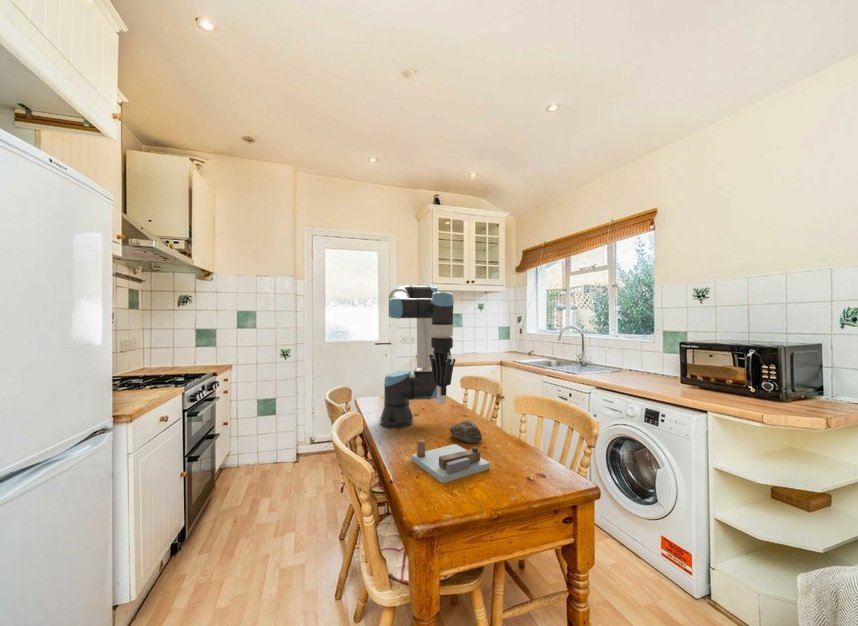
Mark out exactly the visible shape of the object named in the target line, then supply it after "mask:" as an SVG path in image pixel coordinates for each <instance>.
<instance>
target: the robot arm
mask: <svg viewBox="0 0 858 626" xmlns="http://www.w3.org/2000/svg"><path fill="white" fill-rule="evenodd" d="M454 302H455V301H454V295H453V293H452V292H450V291H449V292H446V291H445V292H443V291H442V292H440V291H439V288H438V287H436V286H433V285H402V286H399V287H396V288H394V289H392V290H391V291H390V293H389V295H388V316H389V318H390V319H416V368H415V369H414V370H413V374H411V373H410V371H407V370H404V371H403V370H402V371H401V370H400V371H395V372H391V373H388V374H387V375H385V377H384V384H383V387H384V393H383V394H384V397H383V399H384V400H383V401H384V402H383V403H384V404H383V405H384V406H383V409H382V411H381V414H380V418H379V419H380V421H379V423H380V425H381V426H383V427H385V428H386V427H387V428H392V429H395V428H396V429H397V428H406V427H409V426H411V425H413V423H414V416H413V414H412V411H411V410H412V409H411V407H410V401H421V400H423V401H424V400H426V401H427V400H429V401H430V400H436V405H438V406H442V405H447V400H446V399H447V386H450V385H451V384H452V378H453V371H454V370H453V369H454V365H455V363H456V358H453V357H452V354H451V349H453V347H454V338H453V335H454V304H455V303H454Z"/></svg>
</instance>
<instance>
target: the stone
mask: <svg viewBox="0 0 858 626" xmlns="http://www.w3.org/2000/svg"><path fill="white" fill-rule="evenodd" d="M449 431H450V434H451V436H452V437H453V438H455V439H457V440H460V441H462V442H466V443H467V444H475V443H479V442H481V441H482V439H483V437H482V433H481V430H480V429H479V427H478V425H477V424H476V423H475V422H474V421H473V420H469V419H468V420H467V419H466V420H462V421H460V422H458V423H455V424H454V425H451V426H450V428H449Z"/></svg>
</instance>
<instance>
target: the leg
mask: <svg viewBox="0 0 858 626" xmlns="http://www.w3.org/2000/svg"><path fill="white" fill-rule="evenodd" d="M466 450H467V449H466ZM466 457H467V458H469V459H470V463H474V462H478V461H480V458H481V451H479V449H478V447H477V446H472V448H471V449H469V450H467V451H462V452H458V453H453V454H449V455H444V456H440V457H439V467H441V468H442V469H443V470H445V469H446V463H448V462H451V461H455V460H458V459H462V458H466Z"/></svg>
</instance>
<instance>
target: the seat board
mask: <svg viewBox="0 0 858 626" xmlns="http://www.w3.org/2000/svg"><path fill="white" fill-rule="evenodd" d="M416 442H417V443H416V444H417V445H416V446H417V447H416V448H417V449H416V453H414V454H411V455H410V457H411V460H410V461H411V462H413V463H414V464H415V465H417V466H418V467H419V468H421V469H422V470H423V471H425V472H426V473H427V474H429V475H430V476H432V477H433V478H434V479H436V480H437V481H438V482H439V483H441V484H446V483H448V482H451V481H455V480H458V479H461V478H465V477H468V476H471V475H474V474H478V473H481V472H483V471H487V470H490V469H491V462H490V461H488V460H486V459H484V458H482V457H480V461H478V462H474V463H470V459H469V458H467V457H466V458H462V459H458V460H455V461H451V462H448V463H446V469H445V470H443V469H442V468H441V467H439V457H440V456H444V455H449V454H453V453H458V452H462V451H467V449H465V448H464V447H462V446H460V445H458V444H457V443H456V444H455V443H453V444H449V445H446V446H442V447H439V448H434V449H430V450H426V440H424V439H418V440H417V441H416Z"/></svg>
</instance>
